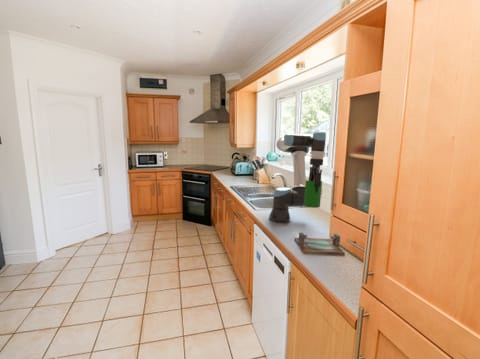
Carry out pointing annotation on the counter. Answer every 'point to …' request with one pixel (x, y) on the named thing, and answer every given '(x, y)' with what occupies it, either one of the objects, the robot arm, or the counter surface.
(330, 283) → the counter surface
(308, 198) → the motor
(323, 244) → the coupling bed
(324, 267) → the counter surface
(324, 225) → the counter surface
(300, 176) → the robot arm
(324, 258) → the counter surface
